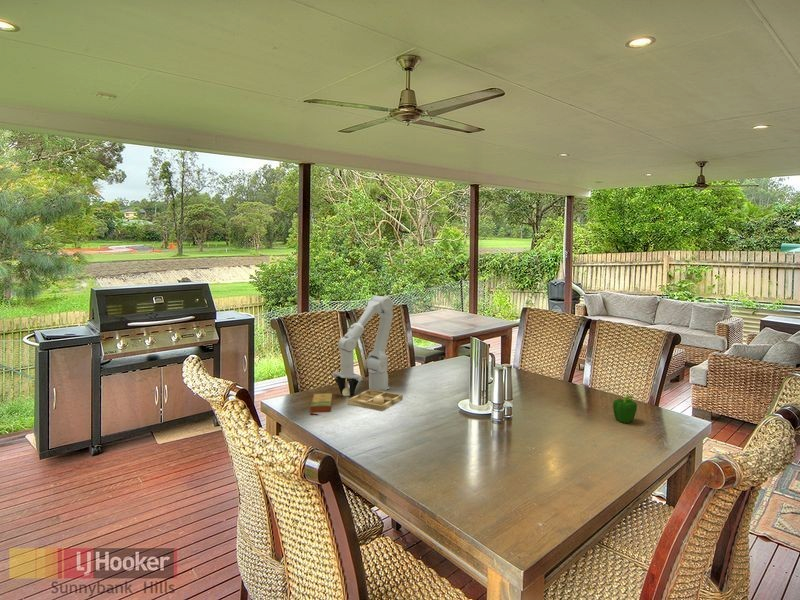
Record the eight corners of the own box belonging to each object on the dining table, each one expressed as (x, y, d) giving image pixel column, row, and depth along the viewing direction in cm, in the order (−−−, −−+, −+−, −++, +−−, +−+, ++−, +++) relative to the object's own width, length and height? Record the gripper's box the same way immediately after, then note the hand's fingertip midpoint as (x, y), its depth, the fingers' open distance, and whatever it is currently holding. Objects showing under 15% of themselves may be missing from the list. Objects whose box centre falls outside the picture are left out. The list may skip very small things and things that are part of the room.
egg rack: (369, 395, 218) (369, 388, 218) (402, 401, 210) (402, 394, 210) (347, 407, 204) (347, 399, 203) (382, 413, 195) (382, 406, 195)
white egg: (346, 395, 220) (346, 385, 219) (354, 396, 217) (354, 386, 217) (340, 397, 216) (340, 387, 215) (348, 399, 213) (348, 389, 213)
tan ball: (376, 403, 204) (376, 392, 204) (386, 405, 202) (386, 394, 202) (370, 406, 201) (370, 395, 200) (380, 408, 198) (380, 397, 198)
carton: (332, 402, 211) (332, 392, 210) (331, 415, 195) (331, 405, 194) (313, 403, 210) (313, 393, 209) (310, 416, 194) (309, 405, 193)
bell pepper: (612, 423, 186) (614, 397, 185) (611, 416, 193) (612, 391, 192) (637, 426, 183) (638, 400, 182) (634, 418, 191) (636, 393, 189)
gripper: (328, 364, 215) (328, 394, 216) (355, 368, 208) (355, 399, 209) (337, 360, 221) (338, 389, 222) (364, 364, 214) (364, 394, 215)
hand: (347, 394), depth 216 cm, fingers closed on white egg, 5 cm apart
